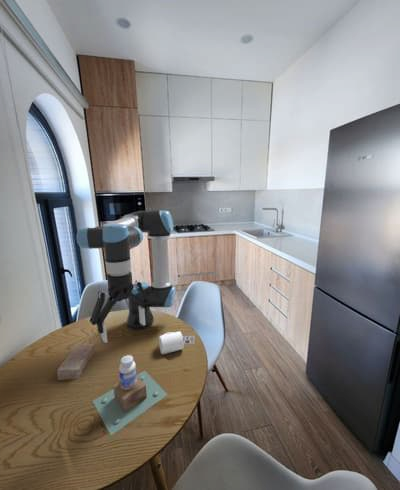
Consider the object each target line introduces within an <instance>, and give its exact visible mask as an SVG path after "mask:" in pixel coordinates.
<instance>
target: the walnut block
mask: <svg viewBox="0 0 400 490" xmlns="http://www.w3.org/2000/svg"><path fill="white" fill-rule="evenodd" d="M137 375H138V374H136V380H137V382H136V385H135V386H134V387H133V388H131V389H128V390H124V389H122V388H121V385H120V381H118V382H116V383H115V384H113V389H114V396H115V399H116V400H117V402H118V404H119V405H120V407H121V408H122V410H123V411H124V413H125V412H127V411H128V410H130V409H131V408H133V407H134V406H136V405H137V404H139V403H140V402H141V401H143V400H144V399H146V398H147V394H146V385H145V384H144V383H143V381H142V380H141V379H140V378H139V377H138V376H137Z"/></svg>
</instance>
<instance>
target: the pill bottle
mask: <svg viewBox="0 0 400 490" xmlns="http://www.w3.org/2000/svg"><path fill="white" fill-rule="evenodd" d="M136 366H137V365H136V362H135V361H134V357H133V356H132V355H130V354H128V355H127V354H126V355H124V356H123V357H122V358H120V364H119V366H118V372H119V382H120V385H121V388H122V389H124V390H128V389H131V388H133V387H134V386H135V385H136V382H137V380H136V375H137V367H136Z"/></svg>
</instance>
